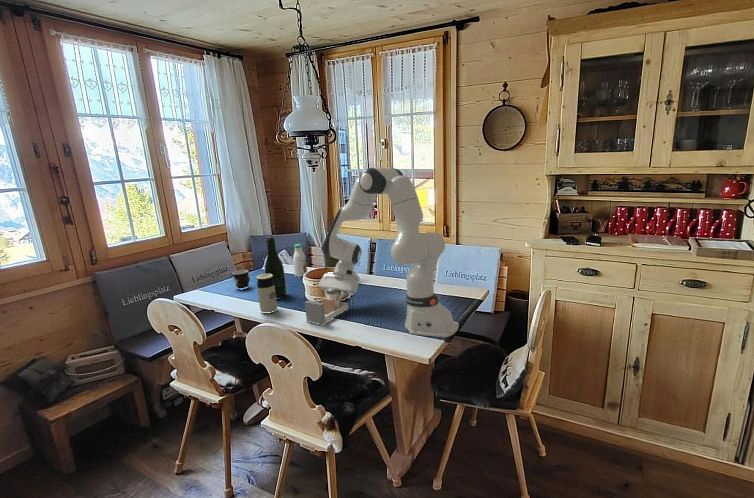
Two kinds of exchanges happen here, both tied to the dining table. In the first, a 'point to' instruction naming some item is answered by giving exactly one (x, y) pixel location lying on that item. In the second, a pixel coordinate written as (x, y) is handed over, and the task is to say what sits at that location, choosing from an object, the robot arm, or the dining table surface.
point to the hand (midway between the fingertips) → (332, 299)
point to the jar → (333, 295)
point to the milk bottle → (299, 261)
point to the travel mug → (266, 293)
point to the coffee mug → (241, 278)
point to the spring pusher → (328, 305)
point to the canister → (330, 261)
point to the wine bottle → (275, 268)
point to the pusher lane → (336, 312)
